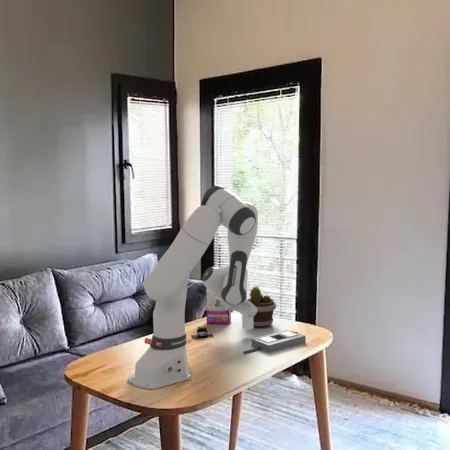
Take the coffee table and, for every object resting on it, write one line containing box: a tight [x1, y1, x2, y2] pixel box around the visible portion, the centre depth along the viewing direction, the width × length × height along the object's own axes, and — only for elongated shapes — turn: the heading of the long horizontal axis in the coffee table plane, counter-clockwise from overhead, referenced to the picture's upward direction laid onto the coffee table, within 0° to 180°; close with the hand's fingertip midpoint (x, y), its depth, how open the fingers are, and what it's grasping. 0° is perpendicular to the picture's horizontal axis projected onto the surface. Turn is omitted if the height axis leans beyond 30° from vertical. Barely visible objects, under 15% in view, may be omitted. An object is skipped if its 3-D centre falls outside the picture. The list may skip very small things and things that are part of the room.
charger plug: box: [241, 313, 254, 331], centre depth 228 cm, size 3×4×8 cm
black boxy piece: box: [190, 325, 215, 340], centre depth 230 cm, size 12×7×5 cm, turn 100°
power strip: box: [242, 329, 307, 354], centre depth 215 cm, size 28×11×4 cm, turn 126°
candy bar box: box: [205, 288, 232, 325], centre depth 250 cm, size 11×5×16 cm, turn 81°
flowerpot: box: [247, 284, 277, 329], centre depth 244 cm, size 14×15×20 cm
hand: (248, 315), depth 228 cm, fingers closed on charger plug, 4 cm apart
